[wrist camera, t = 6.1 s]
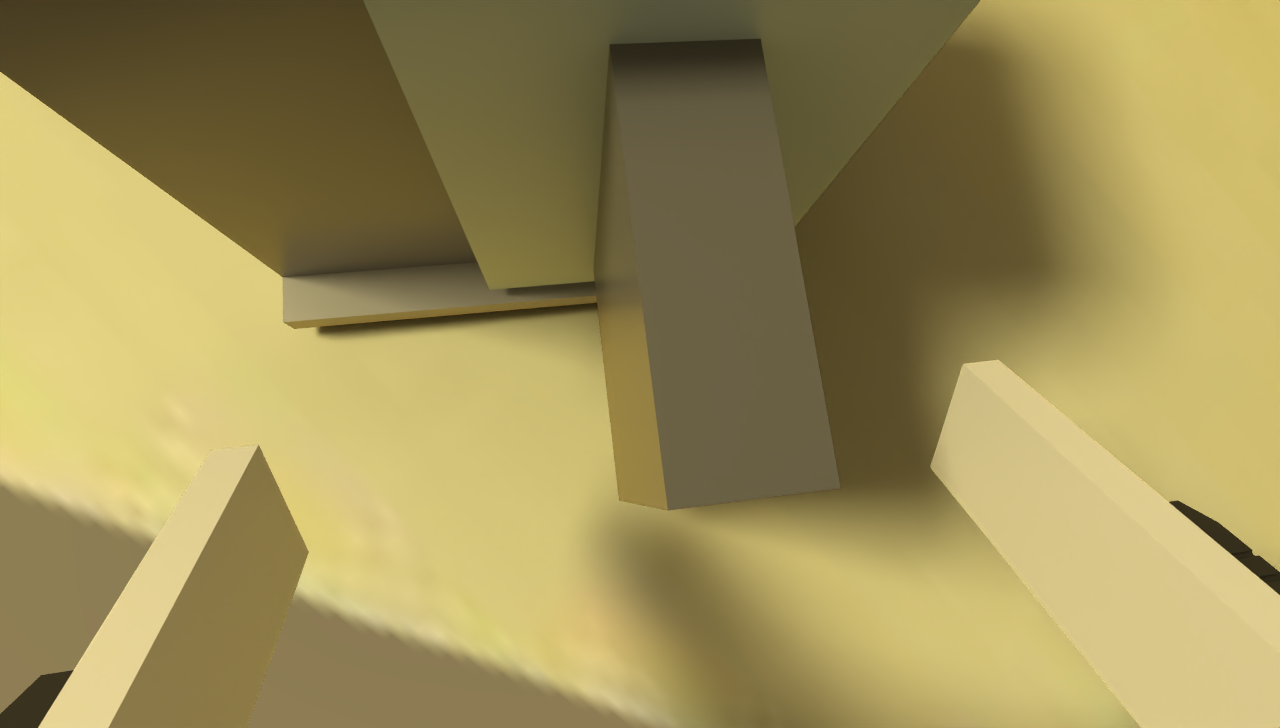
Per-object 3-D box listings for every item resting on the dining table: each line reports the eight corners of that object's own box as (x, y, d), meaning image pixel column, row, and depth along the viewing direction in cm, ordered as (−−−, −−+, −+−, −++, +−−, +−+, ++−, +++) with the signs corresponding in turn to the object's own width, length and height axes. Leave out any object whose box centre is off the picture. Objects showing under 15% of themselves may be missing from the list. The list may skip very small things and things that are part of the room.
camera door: (758, 244, 21) (982, -63, 9) (796, 477, 20) (1120, 456, 8) (487, 266, 20) (360, -52, 8) (507, 513, 19) (385, 551, 7)
